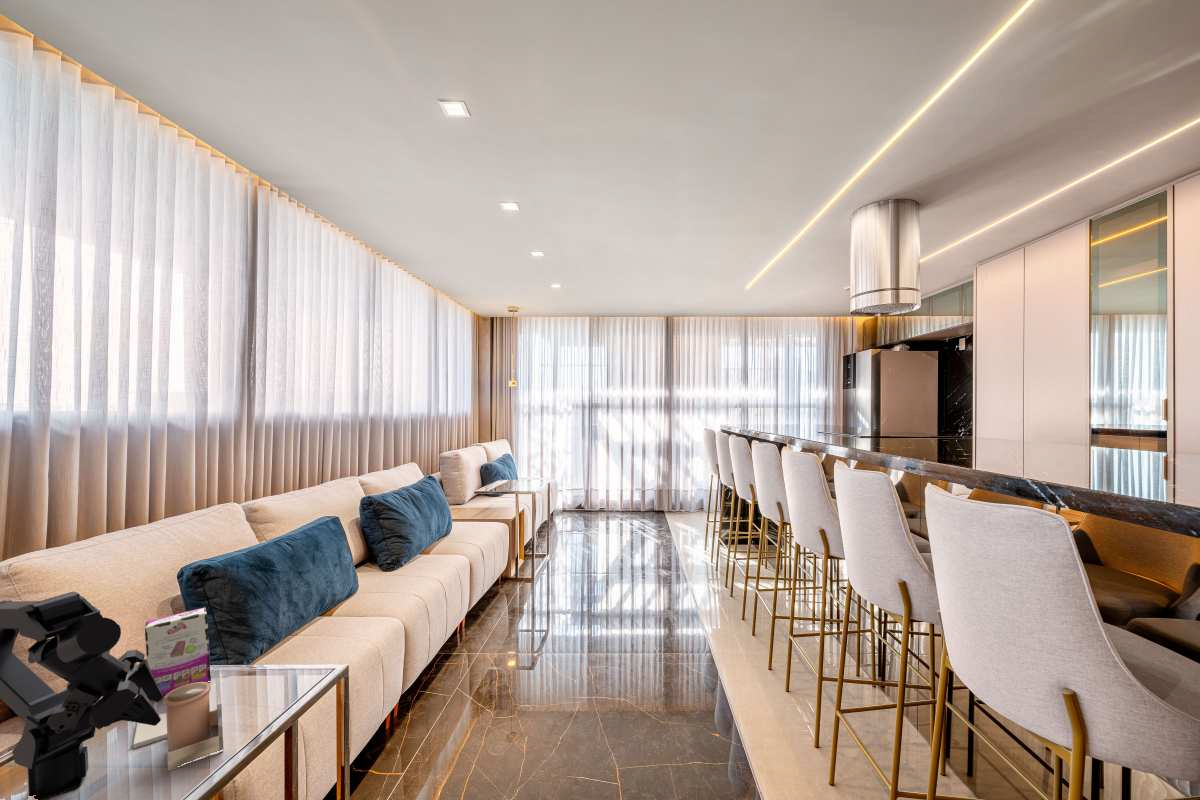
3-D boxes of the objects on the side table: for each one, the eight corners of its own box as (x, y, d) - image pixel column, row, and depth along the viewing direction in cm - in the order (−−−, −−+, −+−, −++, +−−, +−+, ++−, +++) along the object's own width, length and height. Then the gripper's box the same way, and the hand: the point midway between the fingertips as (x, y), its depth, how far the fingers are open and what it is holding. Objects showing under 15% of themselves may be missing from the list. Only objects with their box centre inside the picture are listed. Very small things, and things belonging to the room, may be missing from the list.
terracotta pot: (165, 765, 96) (162, 707, 96) (166, 745, 101) (164, 690, 101) (213, 748, 100) (210, 692, 100) (212, 730, 106) (210, 677, 105)
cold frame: (168, 771, 94) (165, 720, 94) (170, 738, 103) (168, 692, 103) (223, 751, 99) (221, 703, 99) (221, 721, 108) (219, 677, 108)
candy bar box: (209, 674, 127) (206, 606, 127) (211, 683, 123) (208, 612, 123) (148, 692, 120) (145, 620, 120) (148, 702, 116) (144, 627, 116)
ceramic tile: (133, 748, 101) (133, 744, 101) (137, 725, 108) (137, 721, 108) (193, 729, 106) (193, 725, 106) (193, 708, 113) (193, 704, 113)
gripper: (42, 682, 94) (120, 727, 101) (14, 734, 80) (107, 783, 86) (106, 628, 100) (177, 674, 106) (92, 668, 85) (174, 719, 91)
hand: (159, 710), depth 97 cm, fingers open, 9 cm apart
